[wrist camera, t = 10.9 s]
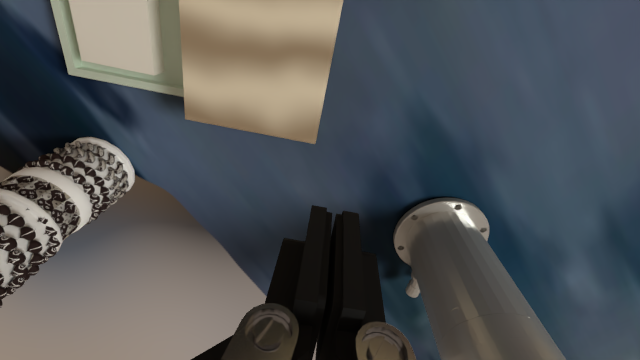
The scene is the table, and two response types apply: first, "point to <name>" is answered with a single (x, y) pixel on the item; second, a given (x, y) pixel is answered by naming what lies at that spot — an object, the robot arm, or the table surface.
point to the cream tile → (120, 33)
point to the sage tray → (161, 82)
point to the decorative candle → (56, 203)
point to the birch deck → (258, 63)
